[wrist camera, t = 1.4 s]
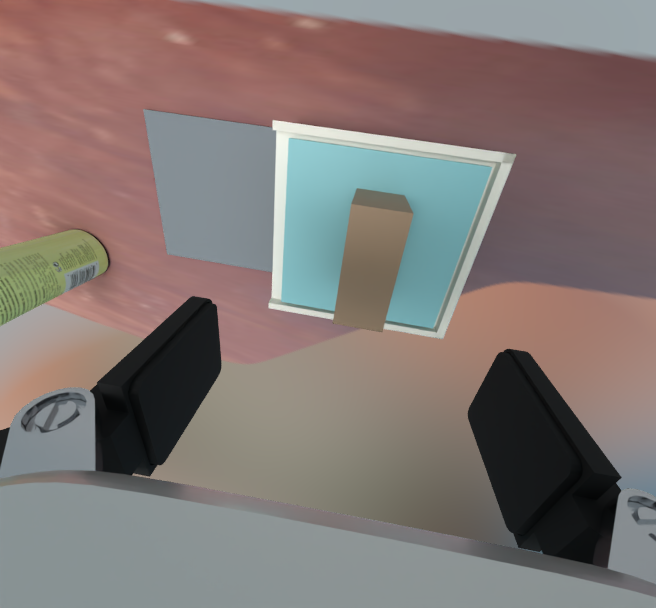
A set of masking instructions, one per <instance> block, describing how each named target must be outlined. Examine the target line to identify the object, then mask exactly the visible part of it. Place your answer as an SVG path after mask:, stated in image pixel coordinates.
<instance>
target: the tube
mask: <svg viewBox="0 0 656 608" xmlns="http://www.w3.org/2000/svg"><path fill="white" fill-rule="evenodd" d="M107 267H108V258H107V254H106V252H105V250H104V248H103V246H102V245H101V244H100V243H99V241H98V240H97V239H95V238H94V237H93V236H92V235H90V234H89V233H87V232H85V231H82V230H68V231H64V232H61V233H57V234H53V235H49V236H45V237H41V238H38V239H34V240H30V241H26V242H22V243H18V244H14V245H10V246H6V247H3V248H0V326H1V325H3V324H5V323H7V322H9V321H11V320H13V319H15V318H17V317H18V316H20V315H22V314H24V313H26V312H28V311H30V310H32V309H34V308H36V307H38V306H40V305H42V304H44V303H45V302H47V301H49V300H51V299H53V298H55V297H57V296H59V295H61V294H63V293H65V292H67V291H69V290H71V289H73V288H75V287H77V286H79V285H81V284H83V283H85V282H87V281H89V280H91V279H93V278H95V277H97V276H99V275H101V274H102V273H104V272H105V271H106V269H107Z"/></svg>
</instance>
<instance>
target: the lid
mask: <svg viewBox="0 0 656 608" xmlns="http://www.w3.org/2000/svg"><path fill="white" fill-rule="evenodd" d="M491 170H492V167H489V166H484V165H477V164H470V163H463V162H456V161H449V160H442V159H435V158H428V157H421V156H414V155H407V154H400V153H393V152H386V151H379V150H372V149H365V148H358V147H351V146H344V145H337V144H330V143H323V142H316V141H310V140H303V139H296V138H289V142H288V164H287V185H286V207H285V228H284V250H283V271H282V293H281V302H286V303H292V304H297V305H303V306H308V307H314V308H320V309H325V310H331V311H335V312H334V318H333V324H339V325H344V326H350V327H355V328H361V329H367V330H372V331H378V332H382V331H383V328H384V324H385V320H387V321H393V322H399V323H404V324H410V325H416V326H421V327H427V328H433V327H434V325H435V322H436V319H437V316H438V314H439V311H440V308H441V306H442V303H443V300H444V297H445V295H446V292H447V289H448V287H449V284H450V281H451V279H452V276H453V273H454V270H455V268H456V265H457V262H458V260H459V257H460V254H461V251H462V249H463V246H464V243H465V241H466V238H467V235H468V232H469V230H470V227H471V224H472V222H473V219H474V216H475V213H476V211H477V208H478V205H479V203H480V200H481V197H482V195H483V192H484V189H485V186H486V184H487V181H488V178H489V176H490V173H491Z"/></svg>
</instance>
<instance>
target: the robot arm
mask: <svg viewBox="0 0 656 608" xmlns="http://www.w3.org/2000/svg"><path fill="white" fill-rule="evenodd" d="M220 371H221V352H220V340H219V328H218V315H217V306H216V305H215V304H212V301H211V300H210V299H207V298H201V297H195V296H192V297H190V298H189V299H188V300H187V301H186V302H185V303H184V304H183V305H181V306H180V307H179V308H178V309H177V310H176V311H175V312H174V313H173V314H172V315H170V316H169V317H168V318H167V319H166V320H165V321H164V322H163V323H162V324H161V325H160V326H158V327H157V328H156V329H155V330H154V331H153V332H152V333H151V334H150V335H149V336H147V337H146V338H145V339H144V340H143V341H142V342H141V343H140V344H139V345H138V346H137V347H135V348H134V349H133V350H132V351H131V352H130V353H129V354H128V355H127V356H126V357H124V358H123V359H122V360H121V361H120V362H119V363H118V364H117V365H116V366H115V367H113V368H112V369H111V370H110V371H109V372H108V373H107V374H106V375H105V376H104V377H103V378H101V379H100V380H99V381H98V382H97V385H96V386H95V387H94V388H93V389H92V390H90V391H89V390H87V389H83V388H64V389H59V390H56V391H53V392H50V393H47V394H44V395H42V396H40V397H39V398H36V399H34V400H33V401H31V402H30V403H29V404H27V405H26V406H24V407H23V408H22V409H21V410H20V411H19V412H18V413H17V414H16V416H15V417H14V419H13V421H12V423H11V426H10V427H9V428H6V429H3V430H0V608H656V497H655V496H653V495H651V494H649V493H646V492H643V491H640V490H638V489H629V488H628V489H625V490H622V491H621V489H620V488H619V487H618V485H617V484H616V482H617V481H618V480H619V479H621V476H620V475H619V473H618V472H617V471H616V470H615V468H614V467H613V465H612V464H611V463H610V461H609V460H608V459H607V457H606V456H605V455H604V453H603V452H602V451H601V449H600V448H599V446H598V445H597V444H596V442H595V441H594V440H593V438H592V437H591V436H590V434H589V433H588V432H587V430H586V429H585V428H584V426H583V425H582V424H581V422H580V421H579V420H578V418H577V417H576V415H575V414H574V413H573V411H572V410H571V409H570V407H569V406H568V405H567V403H566V402H565V401H564V400H563V398H562V397H561V395H560V394H559V393H558V391H557V390H556V389H555V387H554V386H553V385H552V383H551V382H550V380H549V379H548V378H547V376H546V375H545V374H544V372H543V371H542V370H541V368H540V367H539V366H538V364H537V363H536V362H535V360H534V359H533V357H532V356H531V355H530V354H529V353H528V352H525V351H519V350H513V349H506V350H505V351H504V352H500V353H499V354H498V355H497V356H496V358H495V360H494V362H493V364H492V366H491V368H490V370H489V372H488V373H487V375H486V377H485V379H484V381H483V383H482V385H481V386H480V388H479V390H478V392H477V394H476V396H475V398H474V400H473V402H472V403H471V405H470V407H469V410H468V419H469V422H470V425H471V428H472V431H473V433H474V437H475V439H476V442H477V445H478V448H479V451H480V454H481V456H482V459H483V462H484V465H485V468H486V470H487V473H488V476H489V479H490V482H491V484H492V487H493V490H494V493H495V496H496V499H497V501H498V504H499V507H500V510H501V512H502V515H503V518H504V521H505V524H506V526H507V528H508V530H509V531H510V532H512V533H513V534H514V536H515V539H516V542H517V545H518V547H519V548H523V549H528V550H533V551H538V552H540V551H541V550H542V552H543V554H540V553H536V552H531V551H526V550H522V549H516V548H512V547H506V546H502V545H497V544H492V543H487V542H482V541H477V540H471V539H466V538H461V537H456V536H451V535H446V534H441V533H436V532H431V531H426V530H421V529H416V528H411V527H406V526H401V525H395V524H390V523H385V522H380V521H375V520H369V519H365V518H360V517H354V516H349V515H344V514H338V513H333V512H328V511H323V510H318V509H313V508H307V507H302V506H297V505H292V504H287V503H281V502H276V501H271V500H266V499H260V498H255V497H249V496H244V495H239V494H234V493H228V492H223V491H217V490H212V489H207V488H202V487H196V486H191V485H185V484H179V483H173V482H167V481H161V480H155V479H150V478H144V477H137V476H132V474H133V473H135V474H140V475H145V476H150V475H151V474H152V472H153V471H154V469H155V468H156V466H157V465H162V464H163V463H164V462H165V461H166V459H167V458H168V456H169V454H170V453H171V451H172V449H173V448H174V446H175V445H176V443H177V441H178V440H179V438H180V437H181V435H182V434H183V432H184V430H185V429H186V427H187V426H188V424H189V422H190V421H191V419H192V418H193V416H194V414H195V413H196V411H197V409H198V408H199V406H200V404H201V403H202V401H203V400H204V398H205V396H206V395H207V393H208V392H209V390H210V388H211V387H212V385H213V384H214V382H215V381H216V379H217V377H218V375H219V373H220Z"/></svg>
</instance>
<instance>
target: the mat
mask: <svg viewBox="0 0 656 608" xmlns="http://www.w3.org/2000/svg"><path fill="white" fill-rule="evenodd" d="M143 110H144V116H145V122H146V128H147V134H148V140H149V146H150V153H151V159H152V165H153V171H154V177H155V183H156V189H157V195H158V201H159V207H160V213H161V219H162V225H163V231H164V237H165V244H166V250H167V254H169V255H175V256H181V257H187V258H193V259H199V260H204V261H210V262H216V263H222V264H228V265H234V266H239V267H245V268H251V269H257V270H263V271H268V272H273V236H274V200H275V164H276V130H273V128H272V127H265V126H258V125H251V124H244V123H237V122H230V121H223V120H216V119H209V118H202V117H195V116H187V115H180V114H173V113H166V112H159V111H152V110H145V109H143Z"/></svg>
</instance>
